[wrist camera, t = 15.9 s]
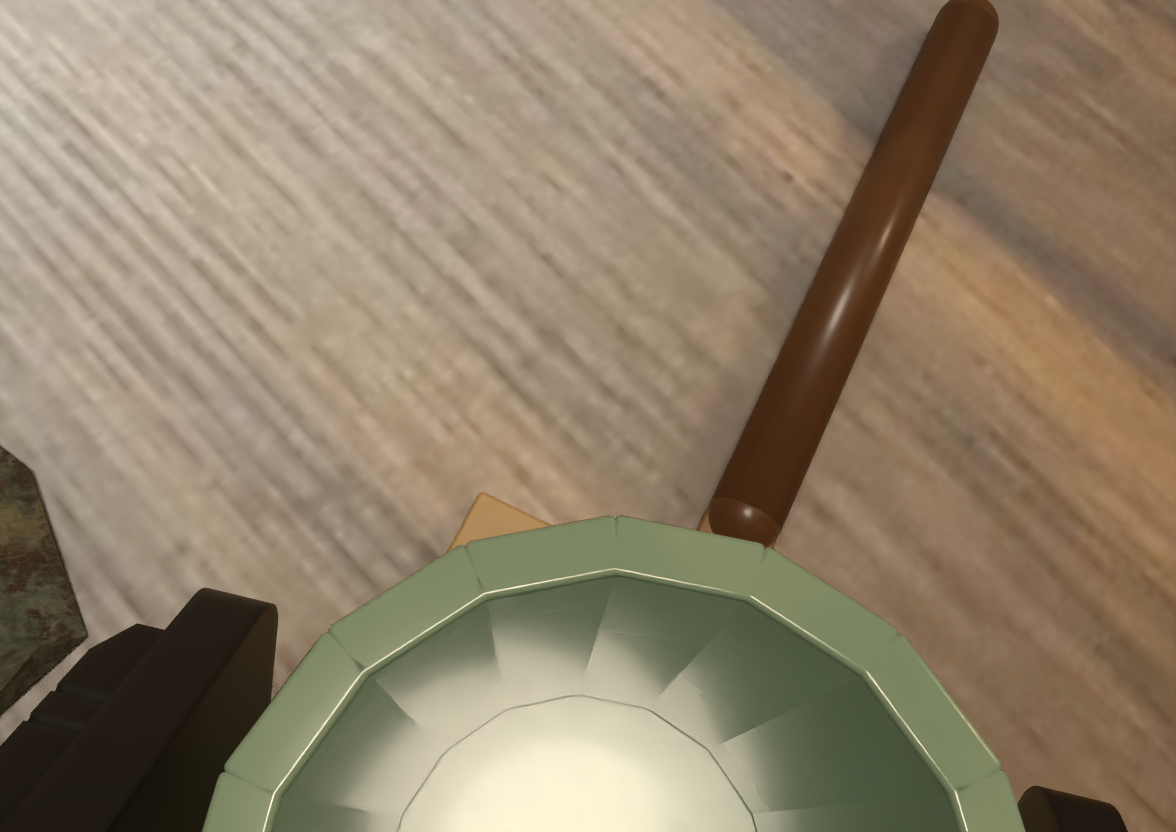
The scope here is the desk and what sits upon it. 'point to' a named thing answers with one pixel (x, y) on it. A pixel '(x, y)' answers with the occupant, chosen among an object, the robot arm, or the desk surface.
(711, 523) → the spatula
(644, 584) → the pot
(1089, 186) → the desk surface
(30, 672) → the sword in stone
